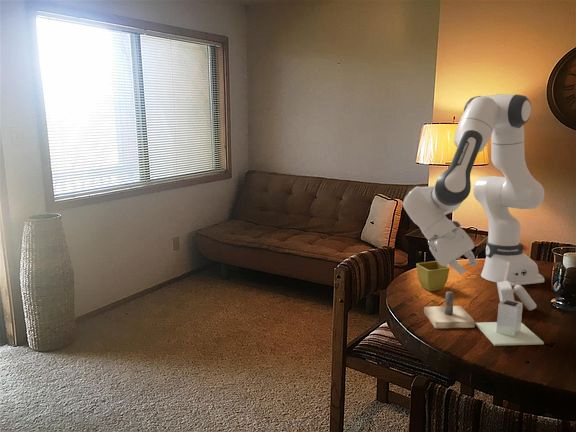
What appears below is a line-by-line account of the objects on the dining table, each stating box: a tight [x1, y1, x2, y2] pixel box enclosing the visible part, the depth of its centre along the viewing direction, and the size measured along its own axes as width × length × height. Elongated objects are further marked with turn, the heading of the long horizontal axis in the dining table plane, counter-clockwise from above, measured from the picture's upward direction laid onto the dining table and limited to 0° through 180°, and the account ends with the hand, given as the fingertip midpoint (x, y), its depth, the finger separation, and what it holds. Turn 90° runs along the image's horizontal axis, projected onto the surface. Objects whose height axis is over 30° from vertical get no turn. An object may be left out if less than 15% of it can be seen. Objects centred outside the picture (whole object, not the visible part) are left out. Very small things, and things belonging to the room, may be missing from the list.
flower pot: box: [415, 260, 450, 292], centre depth 186 cm, size 9×9×9 cm
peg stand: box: [423, 290, 476, 329], centre depth 160 cm, size 12×12×9 cm
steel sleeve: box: [496, 299, 524, 338], centre depth 149 cm, size 5×5×9 cm
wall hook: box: [496, 281, 537, 311], centre depth 167 cm, size 8×10×10 cm
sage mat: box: [475, 321, 545, 347], centre depth 150 cm, size 14×14×1 cm
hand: (469, 268), depth 155 cm, fingers open, 8 cm apart
